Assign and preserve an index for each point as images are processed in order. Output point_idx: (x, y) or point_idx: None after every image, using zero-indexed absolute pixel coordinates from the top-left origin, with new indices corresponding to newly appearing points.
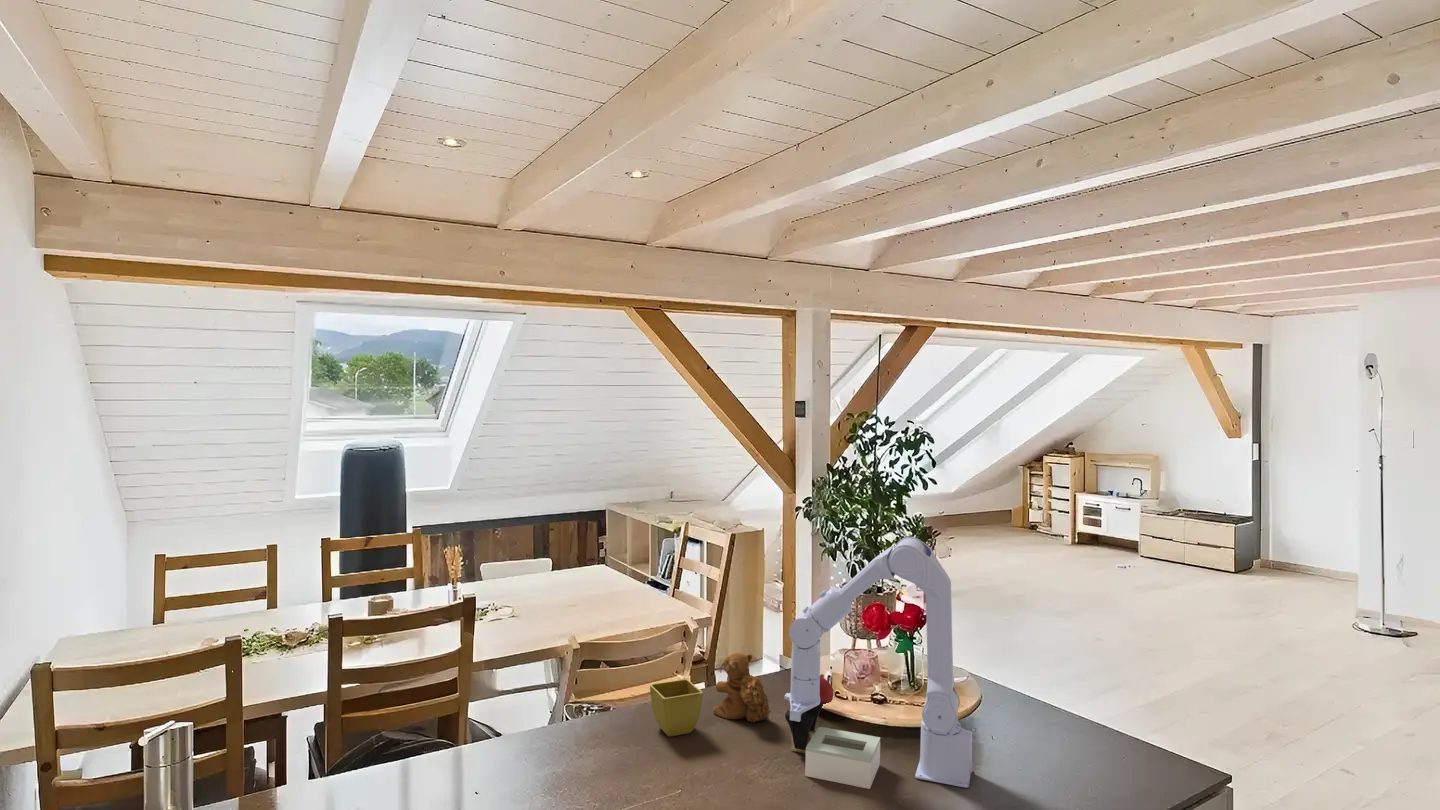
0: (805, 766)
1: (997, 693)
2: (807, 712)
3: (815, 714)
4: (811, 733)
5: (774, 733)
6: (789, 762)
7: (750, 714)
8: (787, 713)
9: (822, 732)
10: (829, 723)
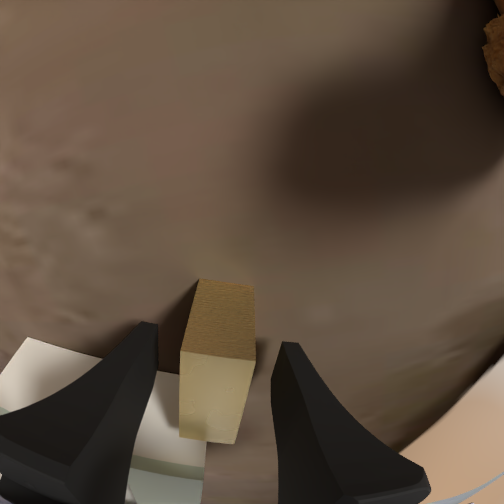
0: (12, 358)
1: (481, 487)
2: (295, 489)
3: (283, 502)
4: (193, 431)
5: (399, 165)
6: (81, 281)
7: (499, 29)
8: (4, 461)
9: (142, 481)
10: (470, 366)
